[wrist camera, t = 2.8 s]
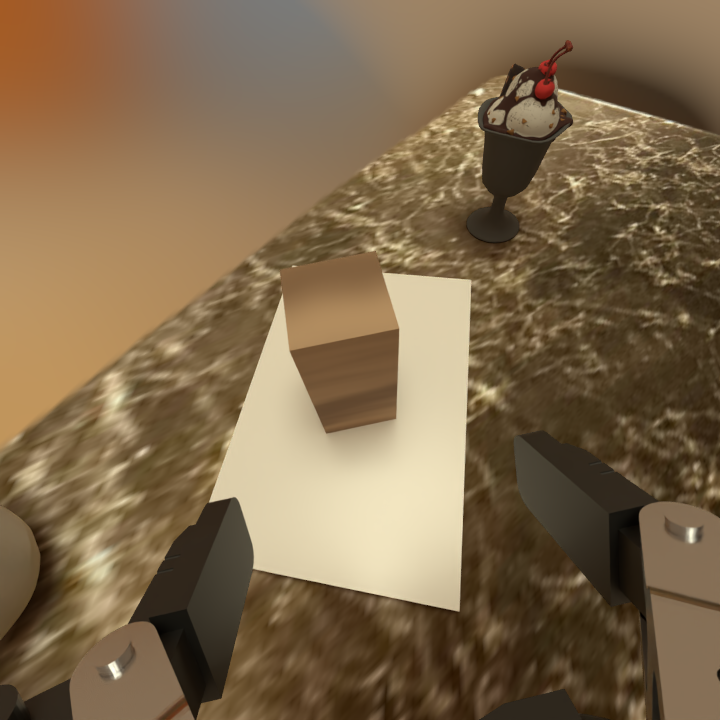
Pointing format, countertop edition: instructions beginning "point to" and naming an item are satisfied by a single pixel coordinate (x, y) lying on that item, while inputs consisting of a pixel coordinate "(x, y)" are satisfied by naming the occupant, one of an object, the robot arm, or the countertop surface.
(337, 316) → the walnut block
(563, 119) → the sundae
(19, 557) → the glass bottle
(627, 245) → the countertop surface
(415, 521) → the cream sheet of paper
